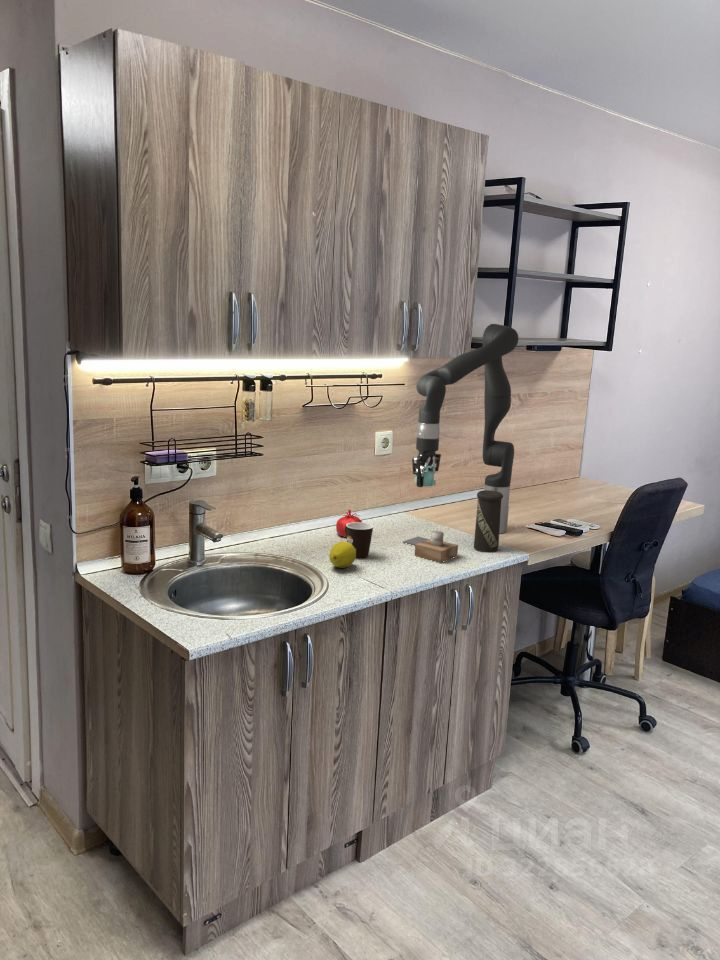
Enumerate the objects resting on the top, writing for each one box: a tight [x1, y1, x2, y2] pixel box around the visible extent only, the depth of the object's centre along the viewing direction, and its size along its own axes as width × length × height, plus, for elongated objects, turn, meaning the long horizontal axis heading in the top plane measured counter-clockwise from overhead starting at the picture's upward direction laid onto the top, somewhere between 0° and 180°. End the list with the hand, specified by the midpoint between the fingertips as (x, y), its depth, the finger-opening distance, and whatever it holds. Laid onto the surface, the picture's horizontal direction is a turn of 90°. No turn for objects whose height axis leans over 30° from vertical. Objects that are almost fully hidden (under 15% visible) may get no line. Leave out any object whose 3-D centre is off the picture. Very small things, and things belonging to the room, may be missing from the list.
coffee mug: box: [345, 521, 374, 560], centre depth 253 cm, size 12×9×10 cm
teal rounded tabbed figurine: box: [414, 469, 437, 487], centre depth 265 cm, size 8×6×4 cm
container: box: [473, 489, 503, 553], centre depth 265 cm, size 9×9×20 cm
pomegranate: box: [335, 509, 364, 539], centre depth 274 cm, size 10×10×9 cm
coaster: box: [402, 536, 431, 547], centre depth 270 cm, size 9×9×1 cm
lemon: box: [328, 540, 356, 569], centre depth 239 cm, size 11×8×8 cm
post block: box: [414, 530, 459, 564], centre depth 255 cm, size 10×10×8 cm
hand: (424, 485), depth 266 cm, fingers closed on teal rounded tabbed figurine, 5 cm apart
